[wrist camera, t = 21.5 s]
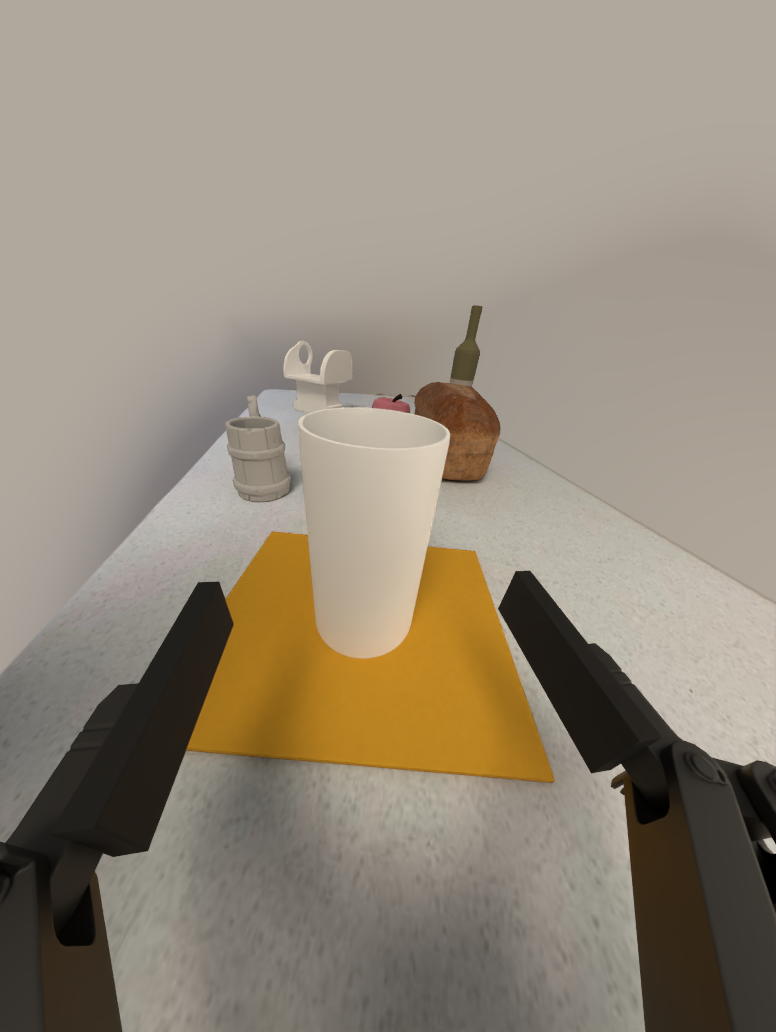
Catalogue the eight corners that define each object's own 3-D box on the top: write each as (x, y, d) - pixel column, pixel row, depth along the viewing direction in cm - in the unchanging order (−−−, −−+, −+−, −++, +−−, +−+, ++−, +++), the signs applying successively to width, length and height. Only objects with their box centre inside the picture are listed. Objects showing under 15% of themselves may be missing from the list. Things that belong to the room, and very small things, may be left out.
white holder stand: (287, 410, 82) (280, 339, 72) (316, 405, 92) (312, 341, 82) (325, 419, 77) (323, 344, 67) (351, 412, 87) (352, 346, 77)
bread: (451, 439, 72) (464, 378, 64) (493, 488, 48) (521, 402, 41) (406, 436, 70) (414, 374, 63) (426, 485, 47) (443, 395, 39)
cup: (318, 579, 26) (305, 403, 18) (401, 575, 28) (427, 410, 19) (311, 664, 19) (285, 446, 11) (422, 653, 21) (476, 452, 12)
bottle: (438, 418, 91) (459, 305, 75) (457, 419, 93) (481, 308, 76) (447, 424, 85) (472, 303, 69) (467, 424, 87) (496, 307, 71)
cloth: (129, 745, 15) (126, 743, 15) (272, 534, 32) (271, 531, 32) (552, 783, 16) (555, 780, 15) (474, 553, 32) (475, 551, 32)
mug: (233, 506, 36) (210, 412, 30) (239, 470, 45) (222, 392, 39) (294, 500, 39) (284, 412, 32) (288, 467, 48) (279, 394, 42)
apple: (397, 429, 75) (401, 389, 70) (413, 438, 69) (419, 396, 64) (365, 430, 71) (367, 389, 66) (379, 441, 65) (382, 396, 60)
